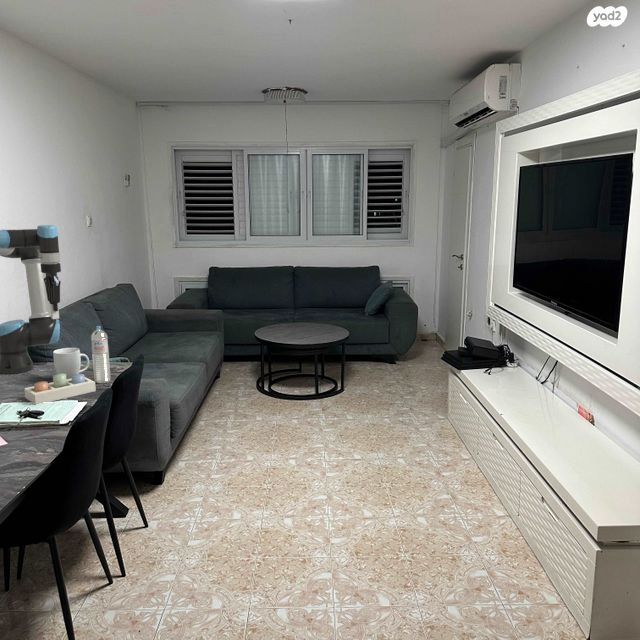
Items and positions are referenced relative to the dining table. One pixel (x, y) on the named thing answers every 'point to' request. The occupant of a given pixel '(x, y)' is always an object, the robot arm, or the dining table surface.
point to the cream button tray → (59, 391)
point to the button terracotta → (40, 386)
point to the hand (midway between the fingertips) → (55, 318)
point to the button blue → (78, 378)
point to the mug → (68, 361)
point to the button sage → (59, 380)
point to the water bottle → (100, 356)
